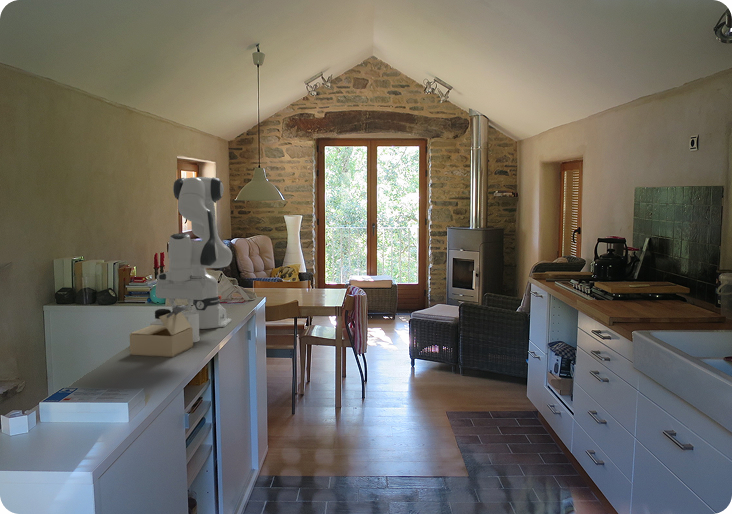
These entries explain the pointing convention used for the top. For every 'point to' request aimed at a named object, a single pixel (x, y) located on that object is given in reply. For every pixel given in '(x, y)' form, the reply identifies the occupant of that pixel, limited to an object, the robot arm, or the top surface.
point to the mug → (193, 323)
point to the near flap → (175, 320)
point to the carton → (160, 341)
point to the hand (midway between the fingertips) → (181, 310)
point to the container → (157, 314)
